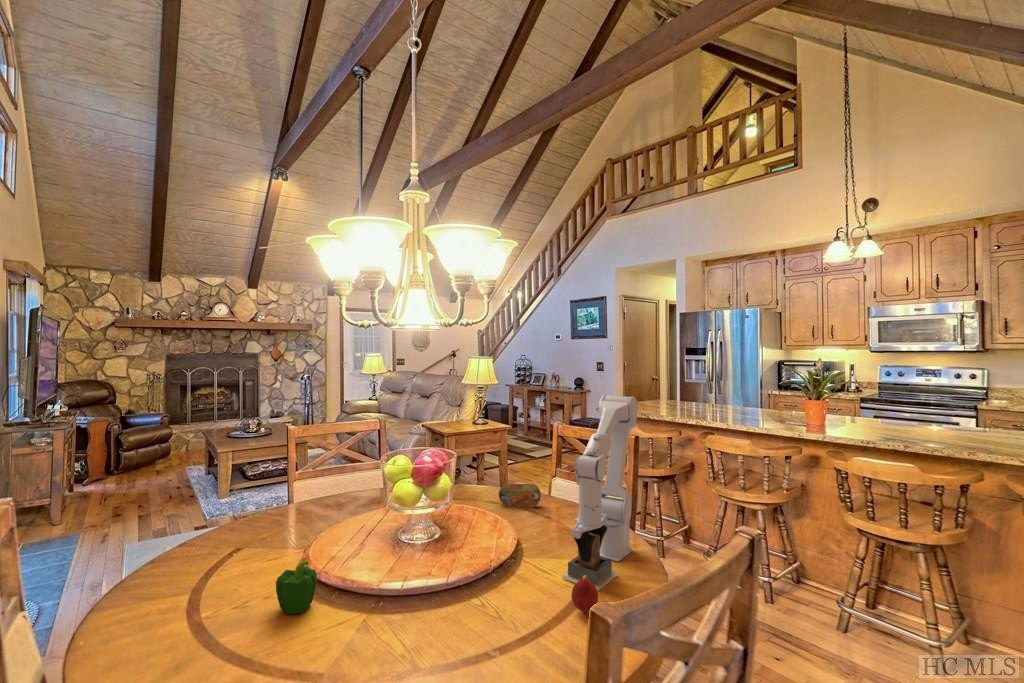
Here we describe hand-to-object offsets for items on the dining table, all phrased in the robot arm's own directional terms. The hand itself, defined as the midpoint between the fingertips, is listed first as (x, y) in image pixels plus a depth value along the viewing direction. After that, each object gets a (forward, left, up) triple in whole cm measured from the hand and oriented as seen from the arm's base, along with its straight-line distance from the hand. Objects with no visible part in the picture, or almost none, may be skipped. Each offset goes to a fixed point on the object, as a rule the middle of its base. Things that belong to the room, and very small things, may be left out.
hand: (590, 557), depth 125 cm
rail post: (0, 0, -3) cm, 3 cm away
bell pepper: (+53, -44, -5) cm, 69 cm away
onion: (+15, +7, -5) cm, 17 cm away
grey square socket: (0, 0, -5) cm, 5 cm away
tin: (-32, -46, -5) cm, 56 cm away
